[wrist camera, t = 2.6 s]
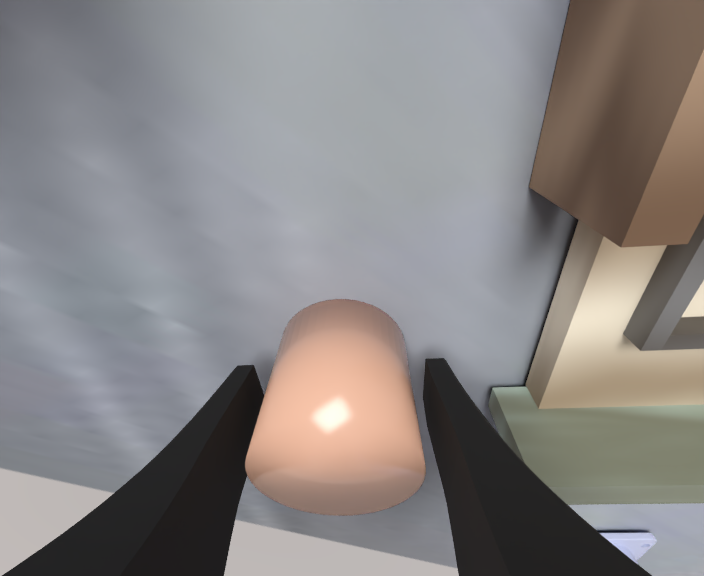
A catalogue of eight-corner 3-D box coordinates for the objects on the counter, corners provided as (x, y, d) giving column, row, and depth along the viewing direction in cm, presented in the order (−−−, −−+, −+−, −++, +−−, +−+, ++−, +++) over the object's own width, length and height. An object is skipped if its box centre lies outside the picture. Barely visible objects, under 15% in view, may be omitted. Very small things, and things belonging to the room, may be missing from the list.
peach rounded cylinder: (403, 388, 14) (421, 514, 10) (293, 391, 15) (266, 516, 11) (406, 295, 12) (431, 416, 8) (270, 302, 12) (222, 422, 8)
